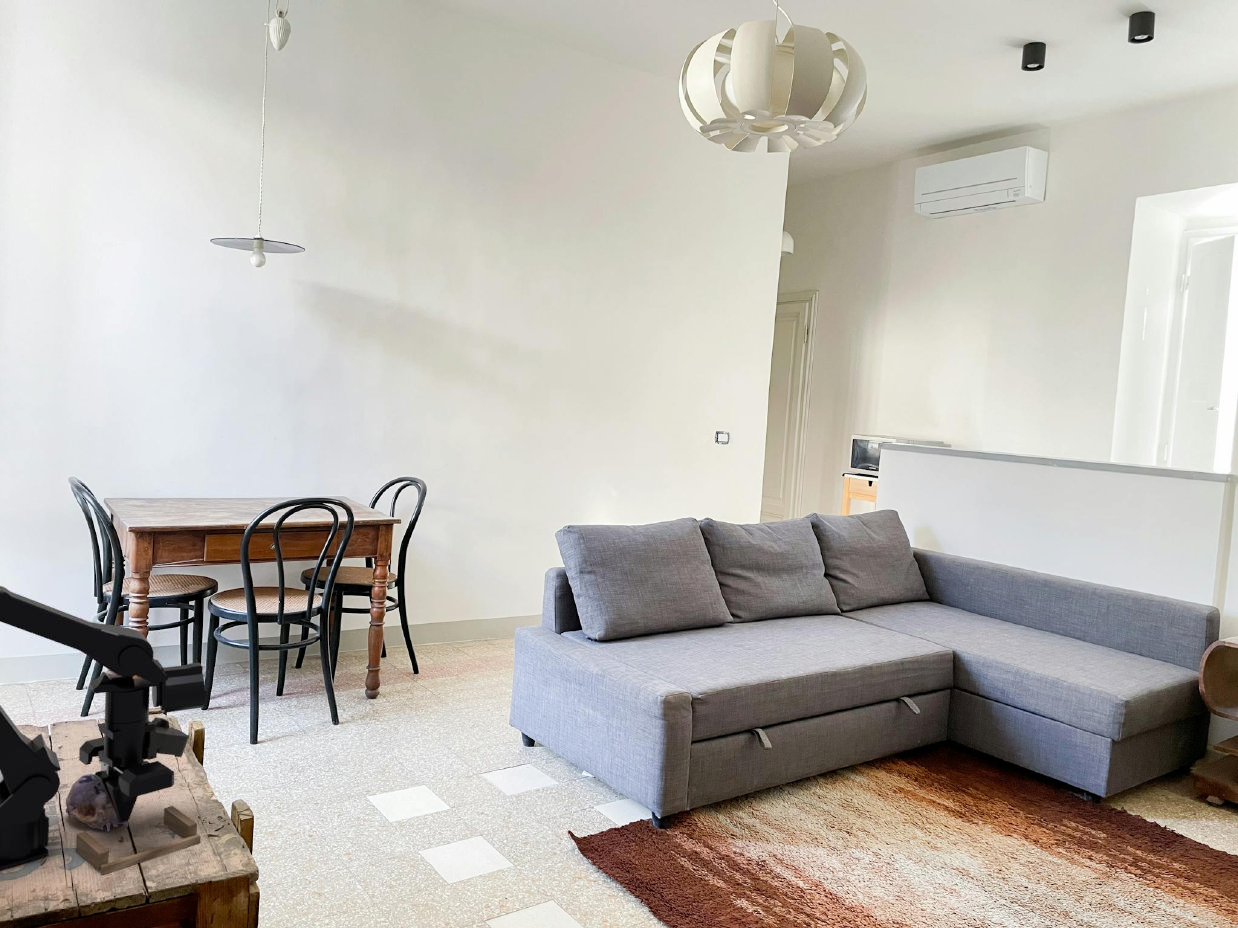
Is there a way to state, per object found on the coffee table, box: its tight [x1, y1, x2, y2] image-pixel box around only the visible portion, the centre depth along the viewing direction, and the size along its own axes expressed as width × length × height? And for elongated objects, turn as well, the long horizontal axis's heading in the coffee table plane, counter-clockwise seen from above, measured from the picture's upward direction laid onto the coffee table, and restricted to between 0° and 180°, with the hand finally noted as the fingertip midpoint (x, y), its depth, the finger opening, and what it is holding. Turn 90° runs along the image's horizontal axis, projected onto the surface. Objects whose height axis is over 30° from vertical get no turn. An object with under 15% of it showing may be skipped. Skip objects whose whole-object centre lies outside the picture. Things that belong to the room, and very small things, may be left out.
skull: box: [65, 773, 130, 833], centre depth 139 cm, size 12×8×6 cm, turn 48°
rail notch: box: [75, 805, 201, 876], centre depth 132 cm, size 13×9×2 cm
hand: (124, 820), depth 135 cm, fingers closed
